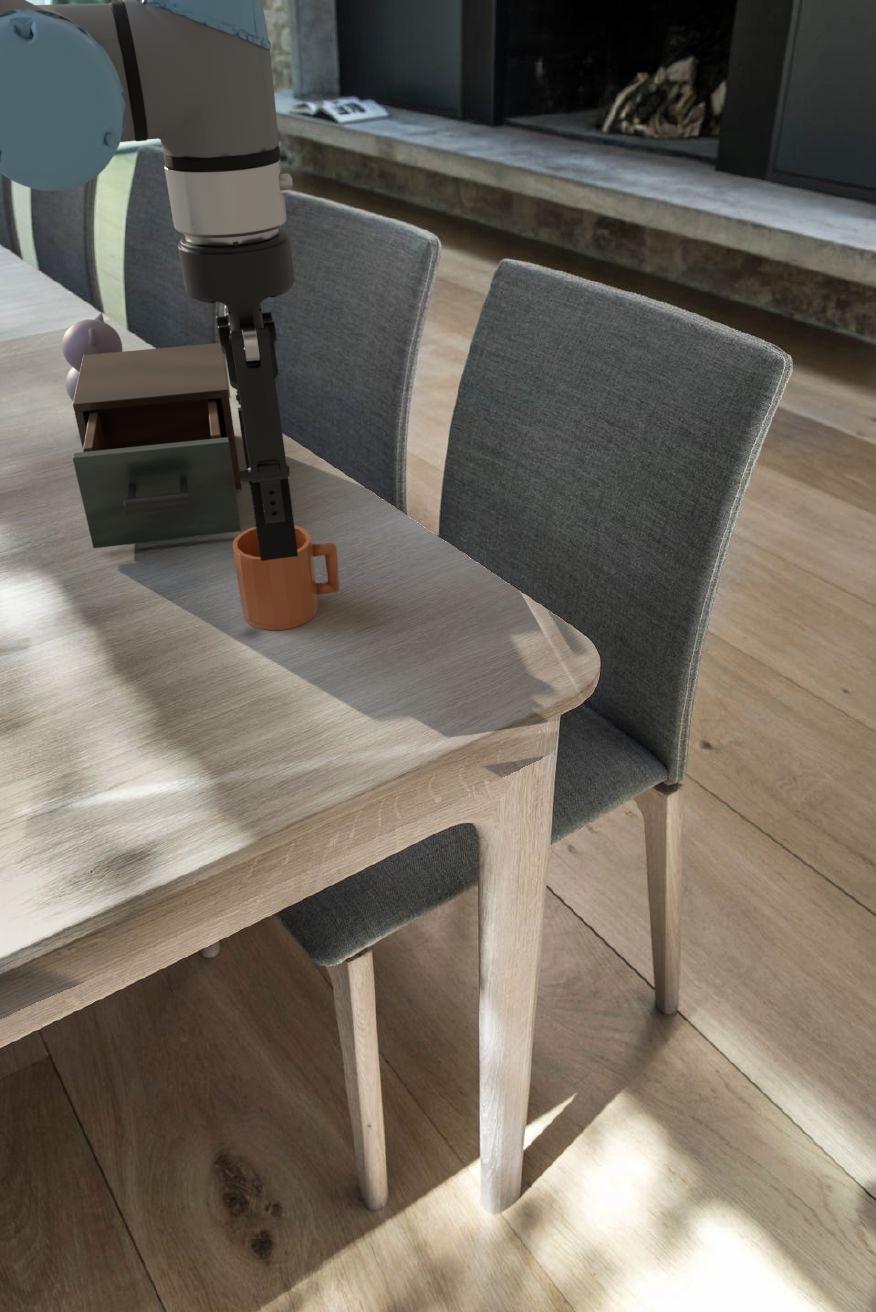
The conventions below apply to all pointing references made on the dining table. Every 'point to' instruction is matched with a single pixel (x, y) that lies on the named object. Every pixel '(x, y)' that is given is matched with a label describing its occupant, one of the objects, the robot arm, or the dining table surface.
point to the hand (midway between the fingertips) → (271, 517)
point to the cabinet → (155, 384)
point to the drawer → (156, 474)
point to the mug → (282, 581)
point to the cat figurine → (87, 346)
